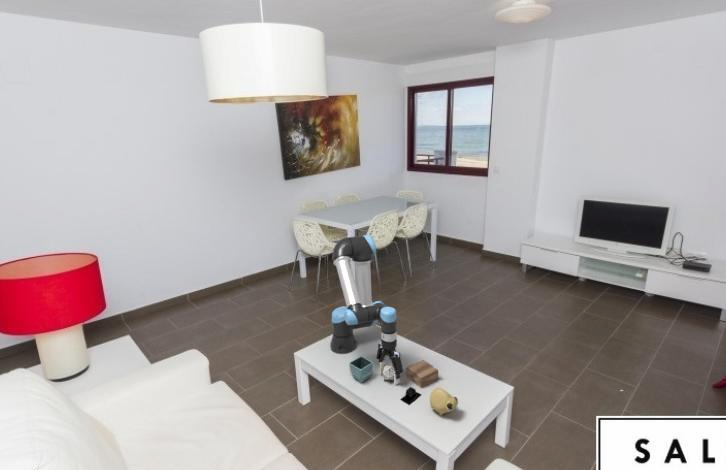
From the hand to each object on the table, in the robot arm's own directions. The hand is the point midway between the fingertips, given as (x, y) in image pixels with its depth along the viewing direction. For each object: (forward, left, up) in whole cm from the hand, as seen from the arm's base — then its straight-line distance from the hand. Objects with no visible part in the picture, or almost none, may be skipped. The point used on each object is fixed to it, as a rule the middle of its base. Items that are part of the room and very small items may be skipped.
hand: (389, 378), depth 190 cm
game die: (0, 0, -1) cm, 1 cm away
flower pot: (-10, -10, -1) cm, 14 cm away
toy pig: (+32, +3, -1) cm, 32 cm away
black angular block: (+16, -1, -2) cm, 16 cm away
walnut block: (+10, +13, -1) cm, 16 cm away
